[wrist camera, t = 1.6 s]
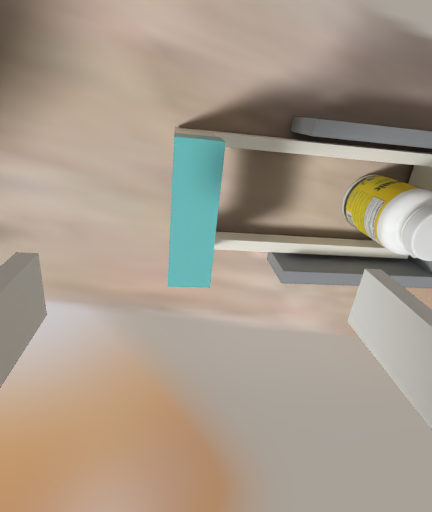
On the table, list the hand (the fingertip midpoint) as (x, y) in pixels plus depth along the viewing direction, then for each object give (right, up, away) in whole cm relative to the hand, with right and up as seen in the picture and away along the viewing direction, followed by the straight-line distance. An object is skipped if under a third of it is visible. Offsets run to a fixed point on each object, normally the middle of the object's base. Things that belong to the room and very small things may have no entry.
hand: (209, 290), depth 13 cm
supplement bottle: (+15, +7, +19) cm, 25 cm away
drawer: (+8, +7, +17) cm, 20 cm away
